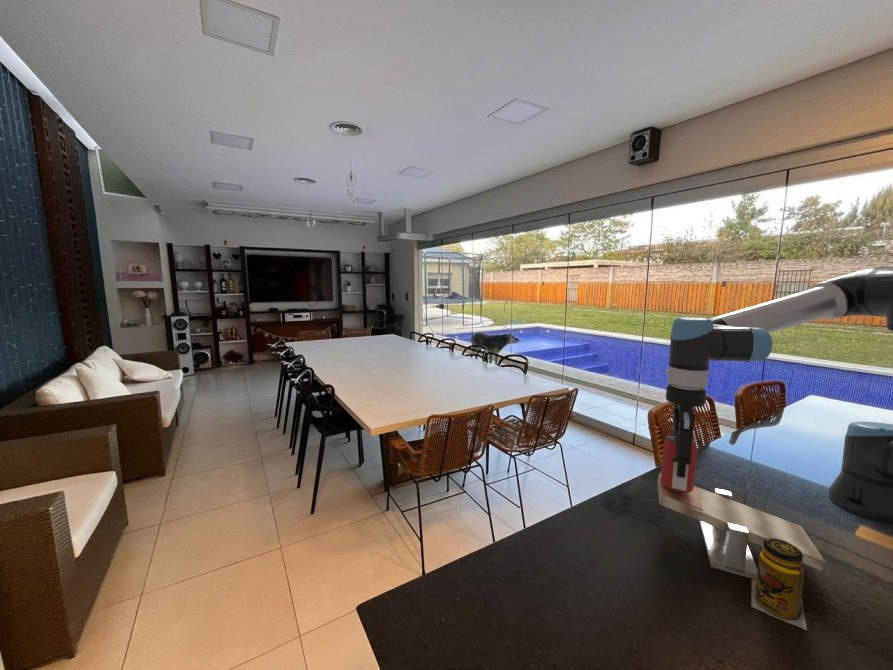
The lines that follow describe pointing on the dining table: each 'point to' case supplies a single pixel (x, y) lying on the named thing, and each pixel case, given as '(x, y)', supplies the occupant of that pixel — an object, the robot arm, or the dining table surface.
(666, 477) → the beer can
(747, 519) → the balance beam
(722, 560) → the pivot stand
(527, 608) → the dining table surface
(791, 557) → the condiment
